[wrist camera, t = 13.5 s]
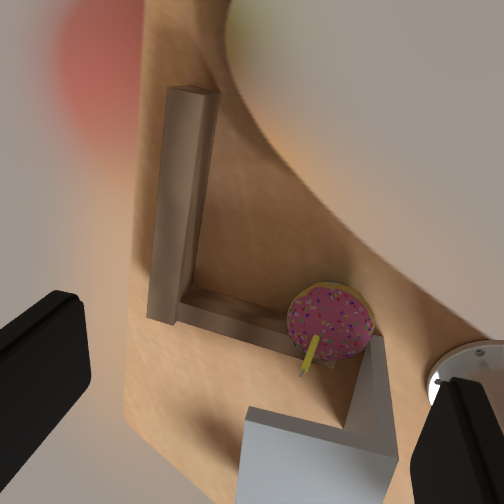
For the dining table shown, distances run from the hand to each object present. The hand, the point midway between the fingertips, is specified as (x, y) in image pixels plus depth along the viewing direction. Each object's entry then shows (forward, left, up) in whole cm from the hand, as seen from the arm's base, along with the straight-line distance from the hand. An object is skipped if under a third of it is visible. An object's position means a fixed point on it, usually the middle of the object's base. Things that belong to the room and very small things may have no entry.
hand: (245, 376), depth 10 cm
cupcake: (-4, +15, -31) cm, 34 cm away
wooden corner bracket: (+4, +8, -31) cm, 32 cm away
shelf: (-4, +26, -30) cm, 40 cm away
